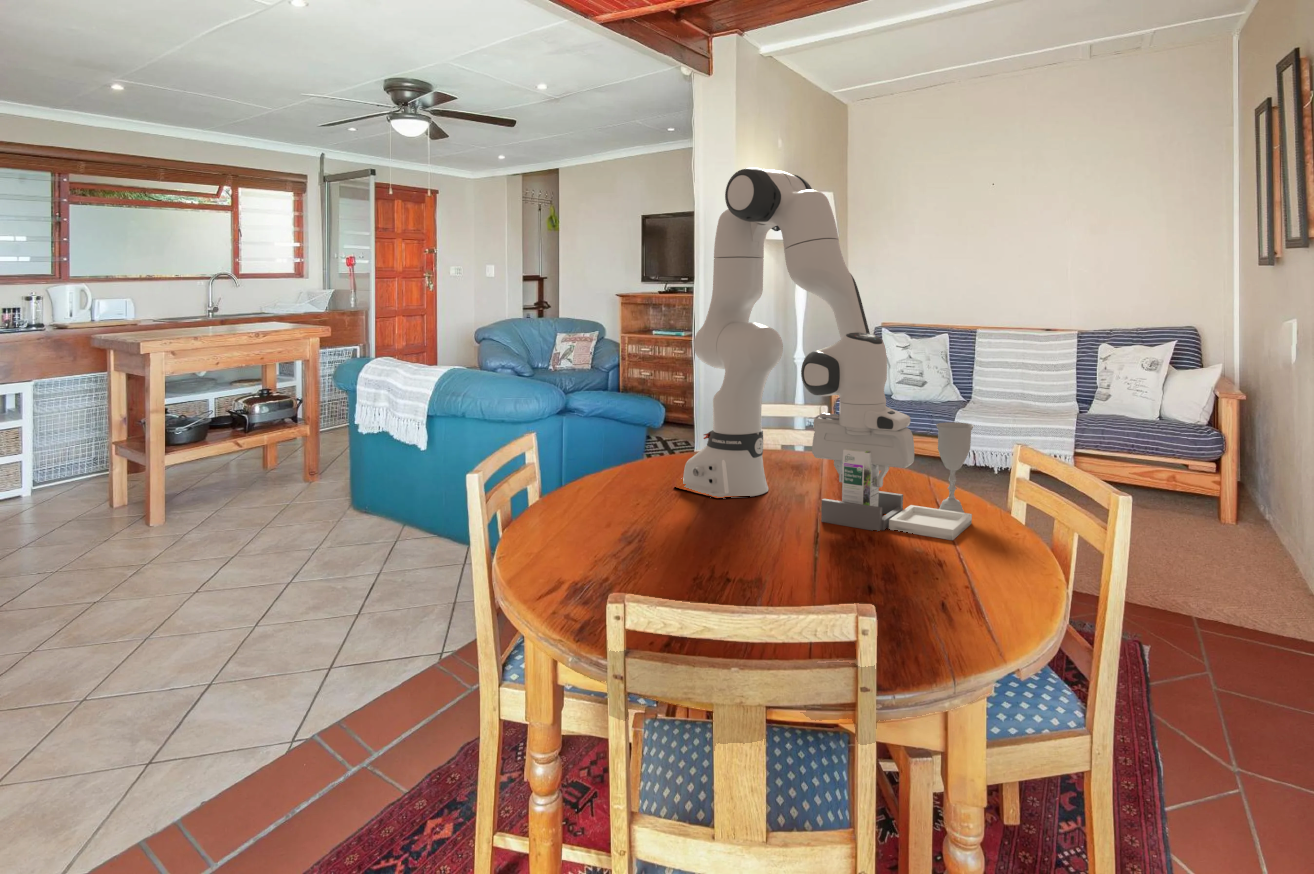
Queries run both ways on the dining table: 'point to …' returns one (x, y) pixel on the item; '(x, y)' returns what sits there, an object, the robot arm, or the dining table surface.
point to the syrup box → (859, 478)
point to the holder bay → (862, 512)
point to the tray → (931, 522)
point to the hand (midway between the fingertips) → (860, 484)
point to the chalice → (953, 456)
